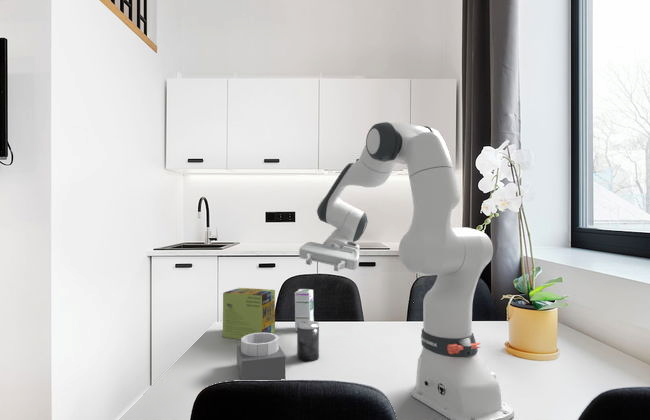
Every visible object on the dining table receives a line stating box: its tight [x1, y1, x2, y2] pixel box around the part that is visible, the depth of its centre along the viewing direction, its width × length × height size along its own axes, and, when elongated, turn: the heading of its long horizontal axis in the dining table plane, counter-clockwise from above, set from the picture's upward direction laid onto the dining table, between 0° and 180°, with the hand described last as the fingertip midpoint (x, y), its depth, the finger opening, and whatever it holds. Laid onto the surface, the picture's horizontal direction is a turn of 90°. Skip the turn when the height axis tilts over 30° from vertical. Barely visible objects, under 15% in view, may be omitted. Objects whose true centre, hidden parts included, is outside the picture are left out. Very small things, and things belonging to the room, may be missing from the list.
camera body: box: [236, 332, 287, 380], centre depth 102 cm, size 14×11×9 cm
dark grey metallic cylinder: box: [296, 320, 320, 363], centre depth 112 cm, size 6×6×10 cm
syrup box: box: [294, 288, 315, 332], centre depth 139 cm, size 6×6×14 cm
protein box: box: [222, 287, 276, 340], centre depth 133 cm, size 10×15×16 cm
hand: (321, 265), depth 120 cm, fingers open, 8 cm apart
